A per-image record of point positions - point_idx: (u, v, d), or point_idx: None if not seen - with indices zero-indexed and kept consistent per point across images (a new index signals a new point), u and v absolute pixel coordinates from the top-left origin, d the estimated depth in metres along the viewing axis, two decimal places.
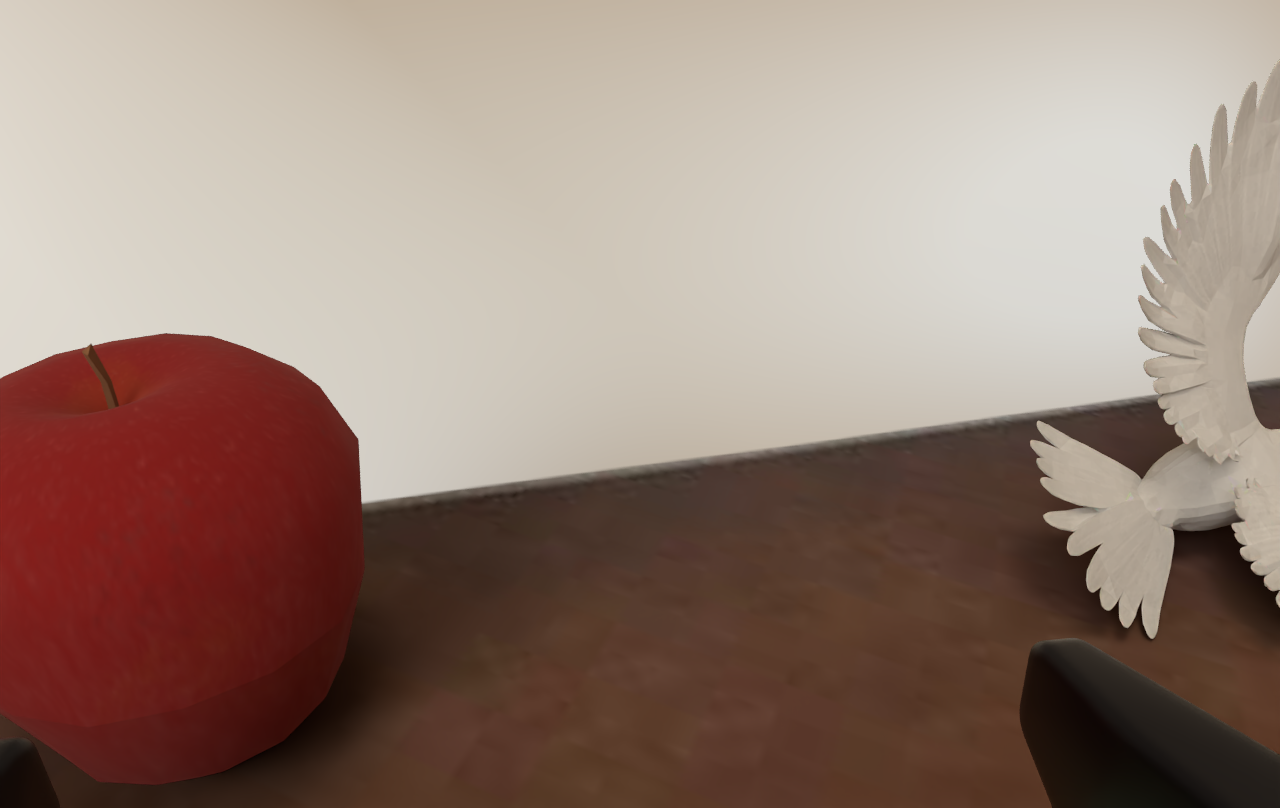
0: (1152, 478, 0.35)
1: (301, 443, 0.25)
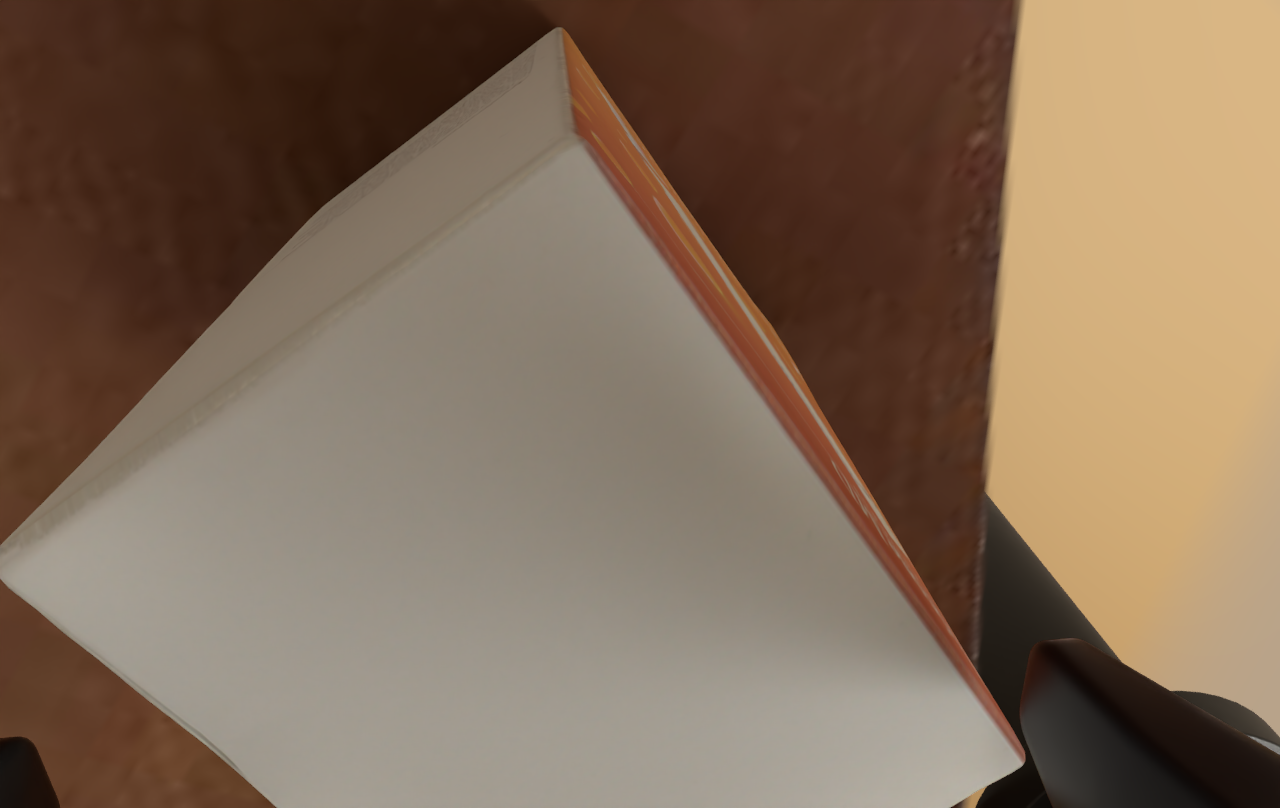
0: None
1: None
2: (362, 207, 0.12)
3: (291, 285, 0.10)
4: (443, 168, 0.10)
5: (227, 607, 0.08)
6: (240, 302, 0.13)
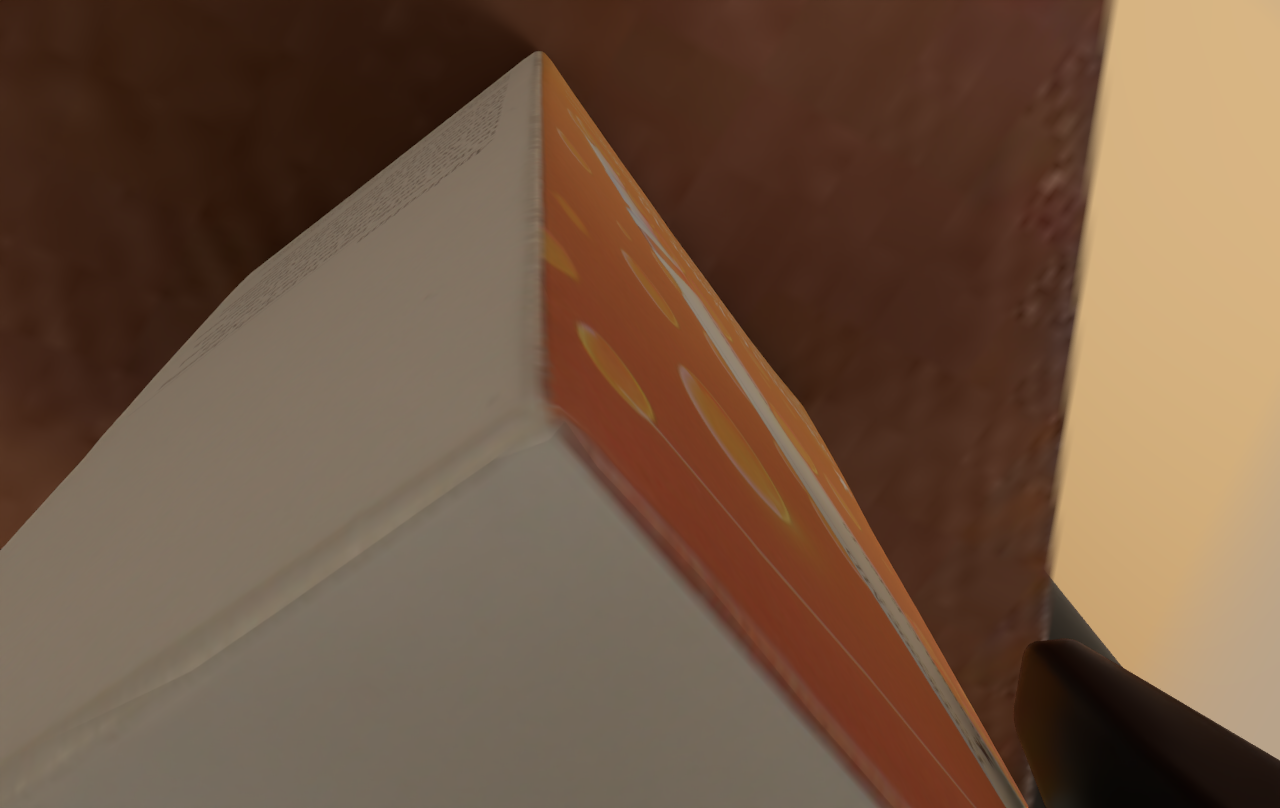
0: None
1: None
2: (253, 336, 0.09)
3: (107, 510, 0.06)
4: (344, 325, 0.06)
5: None
6: (86, 468, 0.09)
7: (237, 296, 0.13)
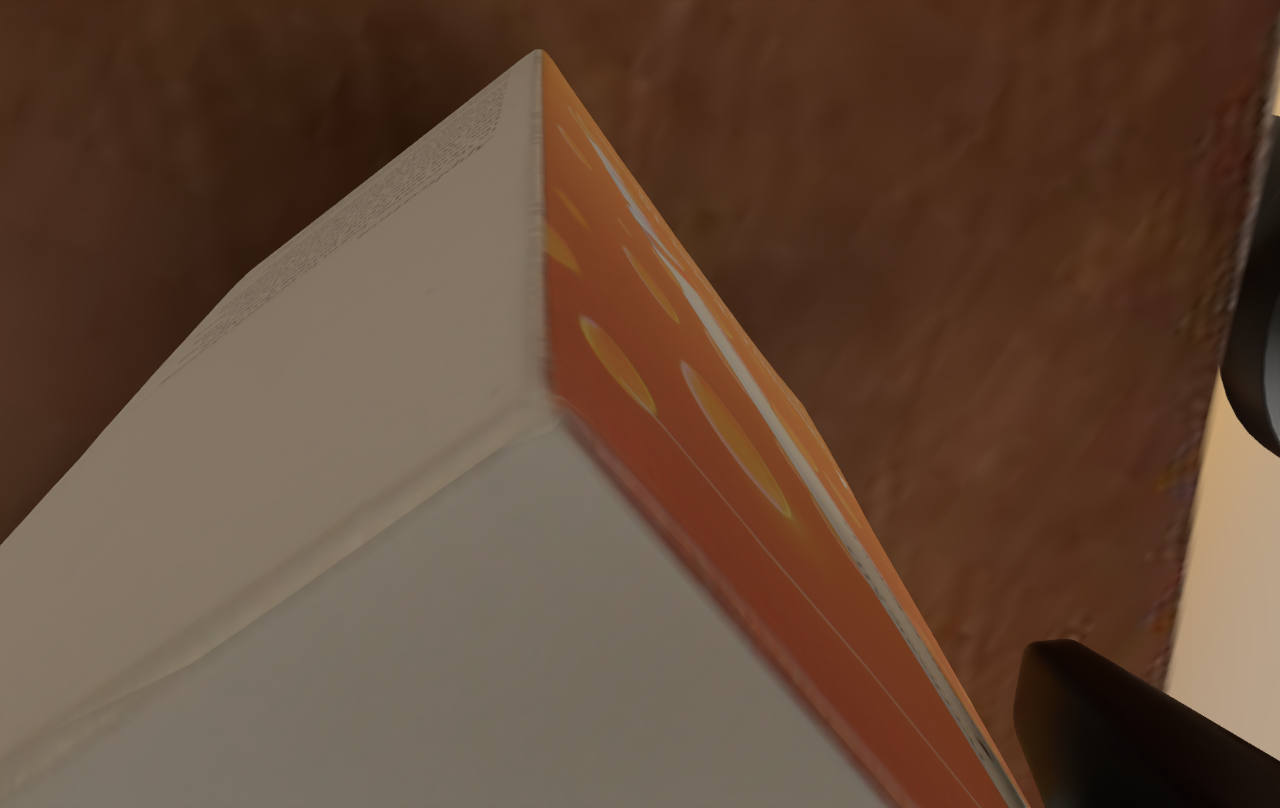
0: None
1: None
2: (253, 332, 0.09)
3: (107, 505, 0.06)
4: (344, 320, 0.06)
5: None
6: (85, 465, 0.09)
7: (236, 293, 0.13)
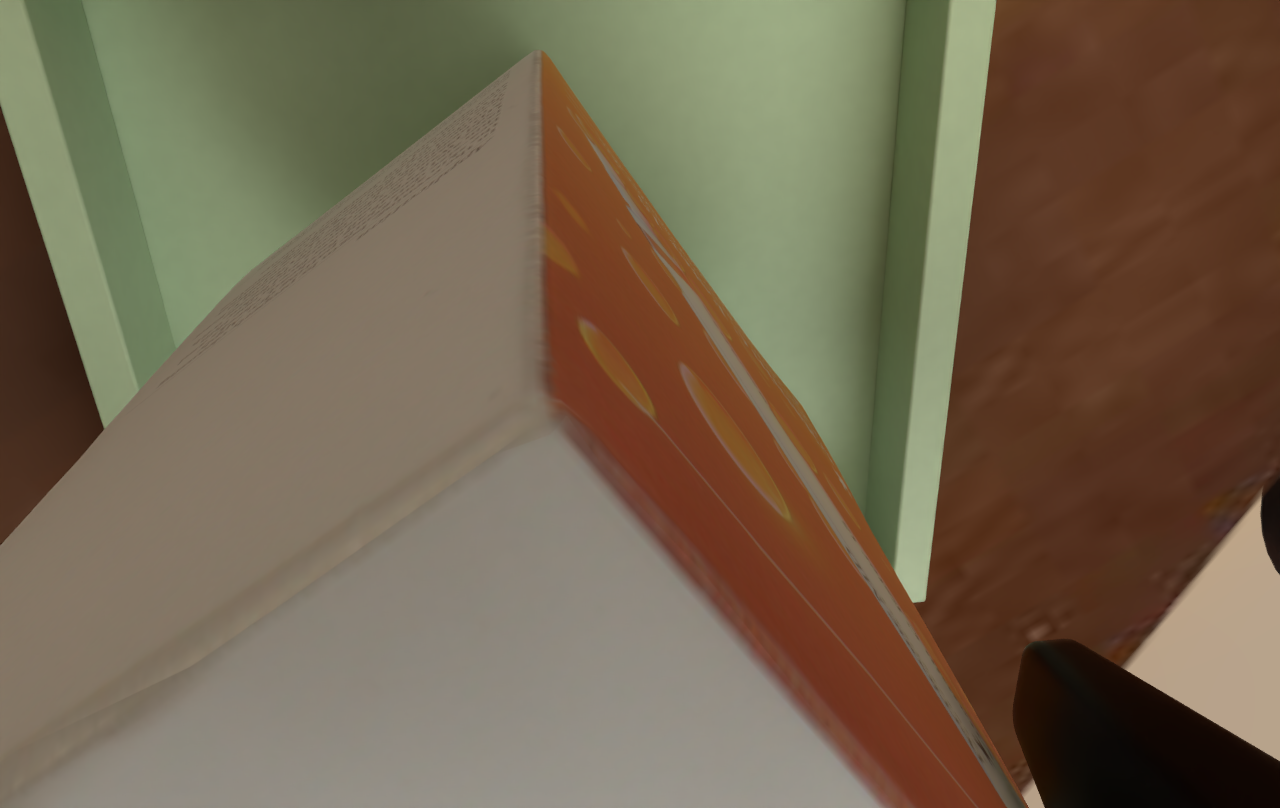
0: None
1: None
2: (252, 334, 0.09)
3: (105, 507, 0.06)
4: (343, 322, 0.06)
5: None
6: (84, 466, 0.09)
7: (236, 294, 0.13)
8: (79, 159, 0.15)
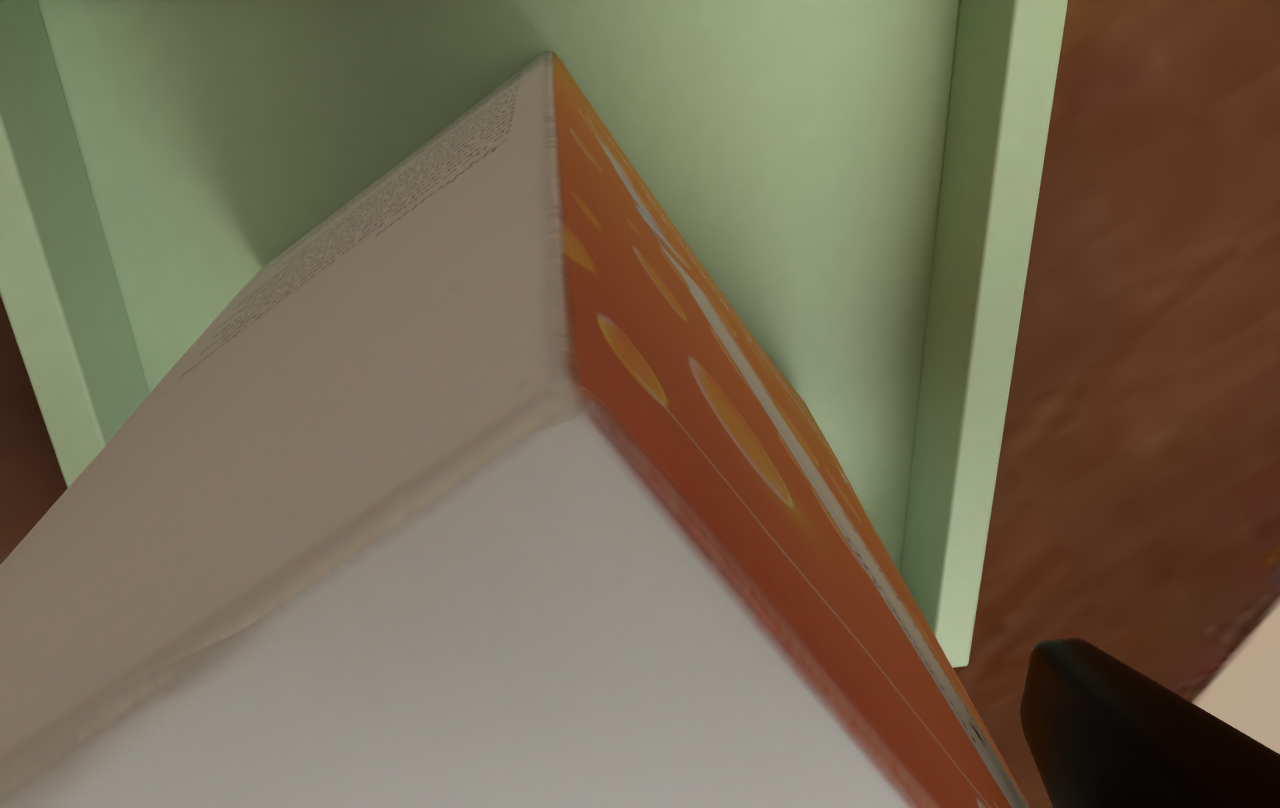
0: None
1: None
2: (275, 326, 0.09)
3: (141, 490, 0.07)
4: (369, 315, 0.07)
5: None
6: (111, 453, 0.09)
7: (252, 288, 0.13)
8: (34, 188, 0.14)
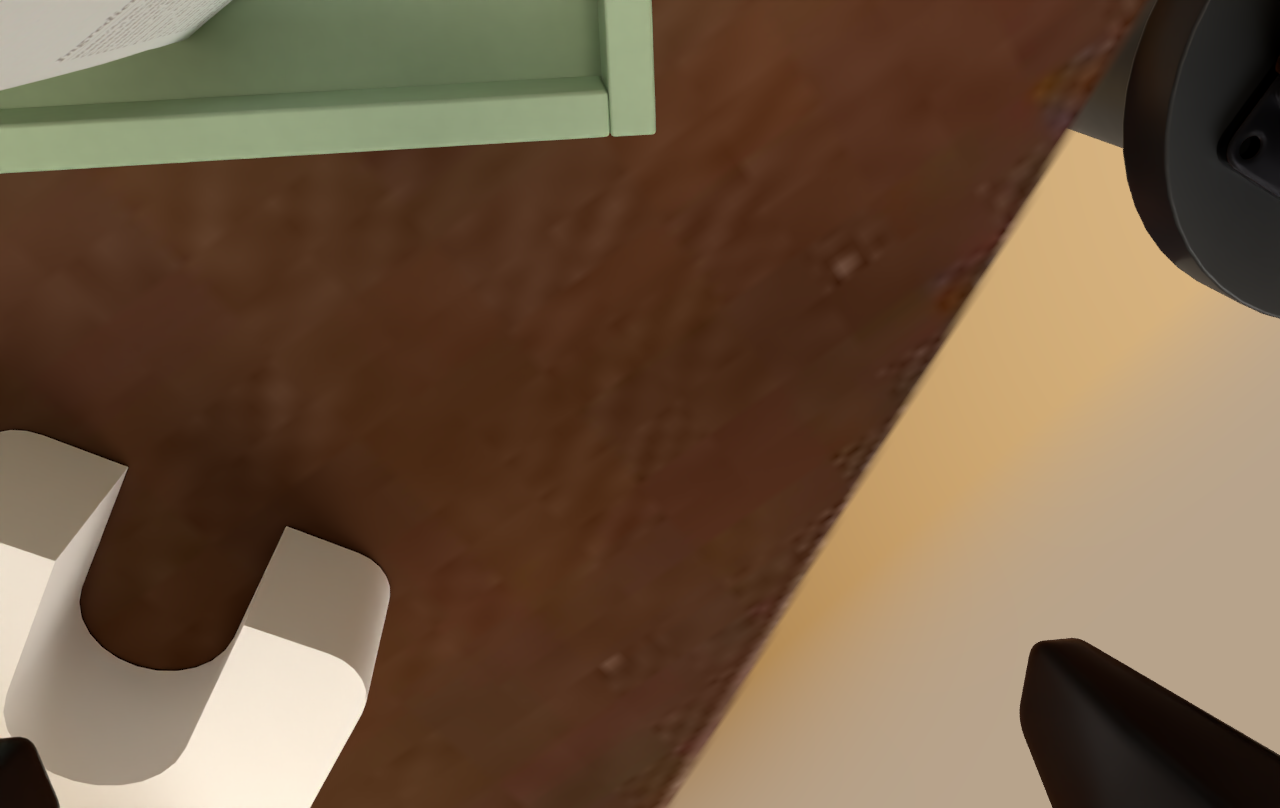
0: None
1: None
2: None
3: None
4: None
5: None
6: None
7: None
8: None
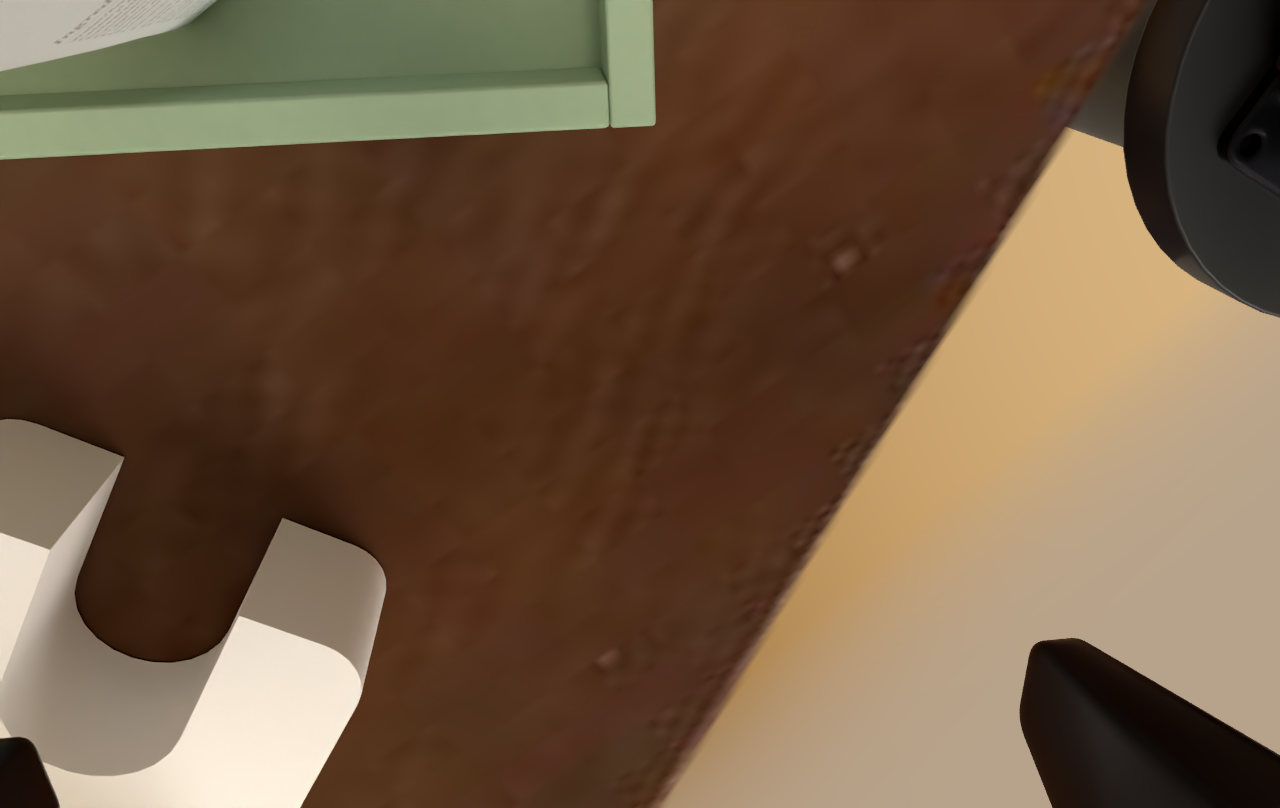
0: None
1: None
2: None
3: None
4: None
5: None
6: None
7: None
8: None
